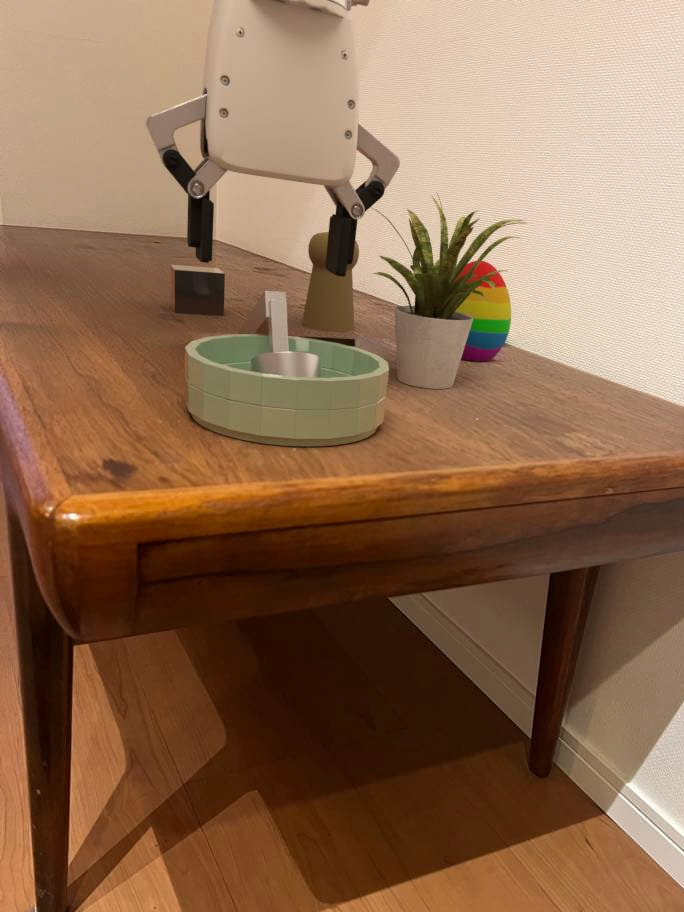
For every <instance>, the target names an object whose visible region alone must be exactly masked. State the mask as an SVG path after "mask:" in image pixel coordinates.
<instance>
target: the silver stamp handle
mask: <svg viewBox="0 0 684 912" xmlns="http://www.w3.org/2000/svg"><path fill="white" fill-rule="evenodd" d="M288 333H289V331H288V303H287V292H286V291H279V290H264V291H263V293H262V294H261V296H260V297H259V299H258V301H257V302H256V304H255V305H254V307H253V308H252V310H251V312H250V314H249V315H248V316H247V318H246V320H245V321H244V323H243V324H242V326H241V327H240V329H239V330H238V332H237V334H265V335H269V350H270V353H264V354H260V355H257V356H255V357H253V358H252V359H251V360H250V362H251V371H253V372H258V373H264V374H273V375H283V376H293V377H317V378H322V376H321V359H320V357H318V356H317V355H314V354H310V353H305V352H294V351H289V348H288V336H289V334H288Z"/></svg>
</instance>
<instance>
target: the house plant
mask: <svg viewBox="0 0 684 912" xmlns="http://www.w3.org/2000/svg"><path fill="white" fill-rule="evenodd" d="M436 195H437V197H438V200H439V203H440V204H439V203H438V201H437V199H435V197H434V196H433V194H431V198H432V199H433V202H434V204H435V206H436V209H437V211H438V214H439V221H440V222H439V223H440V224H439V226H440V244H439V259H438V260H436V261H435V263H434V254H433V247H432V243H431V238H430V234H429V232H428V231H429V230H428V229H427V228H426V226H425V225H424V223H423V222H422V221H421V220H420V218H419V216H418V215H417V214H416V213H415V212H414V211H411V210H410V209H408V208H406V210H407V213H408V215H409V218H408V222H409V227H410V233H411V237H412V241H413V243H414V246H415V248H414V251H413V253H411V251H410V248H409V247H408V245H407V243H406V242H405V239H404V238H403V236H402V235H401V234H400V233H399V231H398V230H397V228H396V227H395V226H394V224H393V223H392V222H391V220H389V219H388V217H386V215H384V214H383V213H382V212H381V211H379V210H377V209H375V208H373V207H372V206H371V207H370V208H371V209H372V210H373V211H376V212H377V213H378V214H380V215H381V216H382V217H384V218H385V219H386V220H387V222H388V223H389V224H390V225H391V226H392V227H393V229H394V230H395V232H396V234H398V236H399V237H400V239H401V240H402V242H403V244H404V245H405V247H406V249H407V250H408V253H409V255H410V257H411V261H412V262H411V264H410V265H409V267H410V269H411V270H410V269H409V268H408V267H406V265H404V264H402V263H400V262H399V261H397V260H396V259H395V260H394V259H393V258H391V257H388V256H384V255H383V256H382V255H379V258H380V259H381V260H384V261H385V262H387V263H388V264H389V266H391V268H392V269H394V270H395V271H396V272H397V273H398V274H400V275H401V276H402V277H403V278H404V280H405V281H406V283H407V285H408V286H409V288H410V290H411V291H412V292H413V295H414V305H412V304H411V300H410V297H409V295H408V293H407V290H405V288H404V286H403V285H402V284H401V283H400V282H399V281H398V280H397V279H396V278H395V277H394V276H392V275H391V274H388V273H386V272H381V271H378V272H373V273H371V274H370V276H372V275H376V276H377V275H378V276H380V277H381V276H382V277H384V278H386V279H389V280H390V281H392V282H393V283H394V284H395V285H397V287H399V289H400V290H401V291H402V292H403V294H404V296H405V297H406V300H407V303H408V305H398V306H396V307H394V325H395V326H394V327H395V346H396V347H395V351H396V370H397V371H396V373H397V375H396V376H397V381H399V382H400V383H403V384H404V385H408V386H412V387H416V388H425V389H432V390H445V389H450V388H453V386H454V384H455V380H456V377H457V373H458V370H459V367H460V364H461V360H462V359H461V357H462V354H463V351H464V347H465V344H466V341H467V338H468V334H469V331H470V328H471V325H472V321H473V317H472V316H470V315H467V314H464V313H461V312H457V311H456V309H457V308H458V307H459V306H460V305H461V304H462V303H463V302H464V301H465V299H466V298H467V297H468V296H469V295H470V294H471V293H474V294H478V295H480V296H482V297H484V295H483V293H482V292H480V291H475V289H476V288H477V287H478V286H479V285H481V284H482V283H483V282H487V283H488V284H489V285H490V287H492V288H493V291H494V287H495V283H494V282H492V281H490V279H489V278H490V277H491V276H493V275H495V274H496V273H498V272H499V273H502V272H507V270H503V269H501V270H497V271H494V272H491V273H489V274H487V275H485V276H477V275H474V274H472V273H473V271H474V270H475V269H476V267H477V266H478V265H479V263H480V262H481V261H484V259H485V258H486V257H487V256H488V255H489V253H490V252H492V250H493V249H495V248H496V247H497V246H499V245H500V244H501V243H503V242H505V241H507V240H510V239H522V237H520V236H504V237H501V238H499V239H497V240H496V241H494V242H493V243H491V244H490V245H489V246H488V247H487V248H486V249H485V250H484V251H483V252H482V253H481V255H479V257H478V258H477V260H475V261H476V263H475V264H474V265H473V267H472V268H471V269H470V270H469V272H468V273H467V274H465V275H463V276H462V277H460V278H459V279H458V280H457V278H458V276H459V275H460V273H461V272H462V270H463V269H464V268H465V266H466V265H467V264H468V263H470V261H471V259H472V258H473V257H474V256H475V254H476V253H477V252H478V251H479V250H480V249H481V248H482V247H483V245H484V244H485V243H486V242H487V240H488V239H489V238H490V237H491V236H492V235H493V234H494V233H495V232H496V231H498V230H499V229H501V228H504V227H506V226H509V225H515V224H516V225H517V224H519V225H521V224H526V220H524V219H505V220H500V221H499V222H495V223H493V224H491V225H489V226H488V227H487V228H485V229H484V230H482V232H481V233H479V234H478V235H477V236H476V237H475V239H473V241H472V242H471V244H470V245H469V246H468V248H467V250H466V251H465V252H464V254H463V255H462V256H461V258H460V260H458V259H459V256H460V253H461V250H462V249H463V247H464V245H465V244H466V241H467V238H468V236H469V235H470V234H471V233H472V232H473V230H474V227H475V226H474V225H475V224H476V223H478V221H479V220H480V219H481V218H480V217H479V218H477V219H476V220H474V221H472V222H471V220H472V218H473V216H474V215H475V213H477V212H478V210H475V211H472V212H470V213H468V214H467V216H466V215H465V216H462V217H460V218H459V220H457V223H456V226H455V228H454V230H453V233H452V236H451V238H450V241H449V230H448V228H449V227H448V224H447V218H446V216H445V214H444V212H443V206H442V201H441V198H440V196H439V194H438V193H436ZM370 208H369V209H370ZM473 277H480V278H481V279H480V280H473V281H470V282H468V283H466V282H467V281H468V280H469V279H471V278H473ZM456 280H457V281H456ZM455 281H456V282H455ZM465 283H466V284H465ZM468 289H469V290H468ZM467 290H468V291H467ZM484 299H485V297H484ZM485 300H486V299H485Z"/></svg>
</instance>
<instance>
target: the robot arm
mask: <svg viewBox="0 0 684 912" xmlns="http://www.w3.org/2000/svg"><path fill="white" fill-rule="evenodd" d="M369 3H370V0H214V2H213V5H212V11H211V14H210V21H209V26H208V33H207V40H206V48H205V58H204V65H203V66H204V67H203V75H202V76H203V77H202V90H201V91H202V92H201V95H199V96H196V97H194V98H192V99H189V100H186V101H184V102H181V103H178V104H176V105H174V106H170V107H168V108H166V109H163V110H161V111H158V112H154V113H153V114H150V115H148V116H147V117H146V119H145V127H146V129H147V132H148V134H149V136H150V139H151V141H152V143H153V145H154V147H155V149H156V151H157V153H158V156H159V158H160V161H161V163H162V164H163V166H164V167H165V169H166V170H167V171H168V172H169V174H170V175H171V176H172V177H173V178H174V180H175V181H176V182H177V183H178V184H179V186H180V187H181V188H182V189H183V191H184V192H185V193H186V194H187V226H186V227H187V228H186V229H187V230H186V231H187V233H186V243H187V247H188V248H195V258H196V259H197V260H198V261H199V262H200V263H205V264H209V263H210V262H212V261H213V243H214V240H213V239H214V217H215V216H214V214H215V213H214V211H215V203H214V202H213V201H212V200H211V198H210V196H211V191H210V190H211V189H212V188H213V187H214V186H215V185H216V184H217V183H218V182H219V181H220V180H221V178H223V176H224V175H225V174H227V172H228V171H229V172H232V173H233V172H234V173H238V174H244V175H249V176H250V175H251V176H256V177H264V178H271V179H276V180H282V181H283V180H284V181H289V182H297V183H304V184H311V185H319V186H323V187H324V189H325V191H326V192H327V194H328V195H329V198H330V199H331V200H332V203H333V204H334V206H335V213H333V214H332V215H331V216H330V217H329V223H328V232H329V233H328V244H327V254H326V269H327V270H328V271H329V272H331V273H333V274H335V275H336V276H342V277H345V275H346V268H347V264H352V262H353V257H354V248H355V240H356V238H357V228H358V226H357V225H358V220H360V219H362V218H363V217H364V215H365V213H366V212H367V211H368V210H370V207H371V208H372V207H373V205H375V204H376V203H377V202H378V201H379V200H380V199H381V198H383V196H384V194H385V190H386V189H387V188H388V186H389V185H390V183H391V182H392V180H393V178H394V176H395V175H396V173H397V171H398V170H399V168H400V166H401V160H400V158H399V156H397V154H395V153H394V152H393V151H392V150H391V149H390V148H388V147H387V146H386V145H384V144H383V143H382V142H381V141H380V140H379V139H377V137H375V136H374V135H373V134H372V133H370V132H369V130H367V129H365V128H364V127H363V126H362V125H361V124H360V123H359V111H360V110H359V109H360V74H359V69H360V68H359V45H358V33H357V24H356V23H357V22H356V21H354V20H352V19H349V18H348V12H350V11H351V10H352V7H357V6H362V7H368V6H369ZM198 121H199V150H200V155H201V157H202V158H203V159H202V160H201V161H200V162H199V163H198V164H197V165H196V167H194V169H193V168H192V167H191V165H190V164H189V163H188V162H187V160H185V158H184V157H183V155H182V154H181V153H180V151H179V148H178V146H177V143H176V141H175V138H174V133H175V132H176V131H177V130H178V129H181V128H183V127H186V126H189V125H191V124H194V123H196V122H198ZM357 152H359V153H360V154H361V155H363V157H365V158H366V159H367V160H369V161H370V162H371V164H372V170H371V171H370V173H369V176H368V178H367V179H366V180H365V181H364V182H363V183H362V184H360V185H359V186H358V187H357V188H356V189H355V188H354V186H353V184H352V183H351V181H350V180H351V179H352V177H353V174H354V170H355V166H356V159H357Z"/></svg>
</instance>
